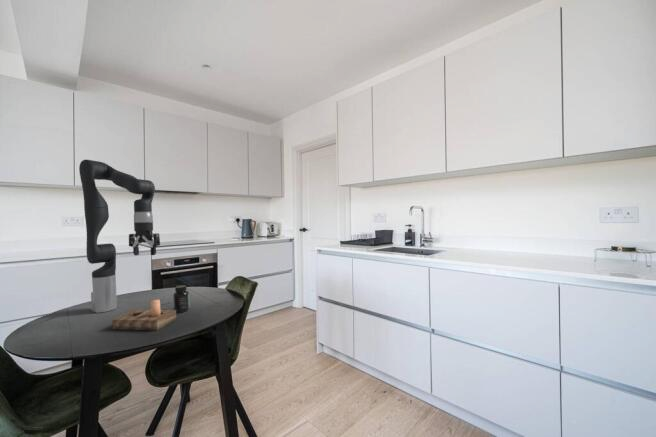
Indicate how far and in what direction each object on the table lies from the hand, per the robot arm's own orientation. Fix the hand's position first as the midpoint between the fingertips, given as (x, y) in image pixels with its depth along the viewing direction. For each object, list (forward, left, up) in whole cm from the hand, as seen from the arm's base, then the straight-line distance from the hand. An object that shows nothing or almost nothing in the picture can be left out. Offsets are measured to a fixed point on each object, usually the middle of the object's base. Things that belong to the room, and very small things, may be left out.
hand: (144, 255), depth 133 cm
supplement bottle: (+15, +4, -28) cm, 32 cm away
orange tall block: (+14, -12, -27) cm, 33 cm away
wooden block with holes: (+9, -12, -28) cm, 32 cm away
